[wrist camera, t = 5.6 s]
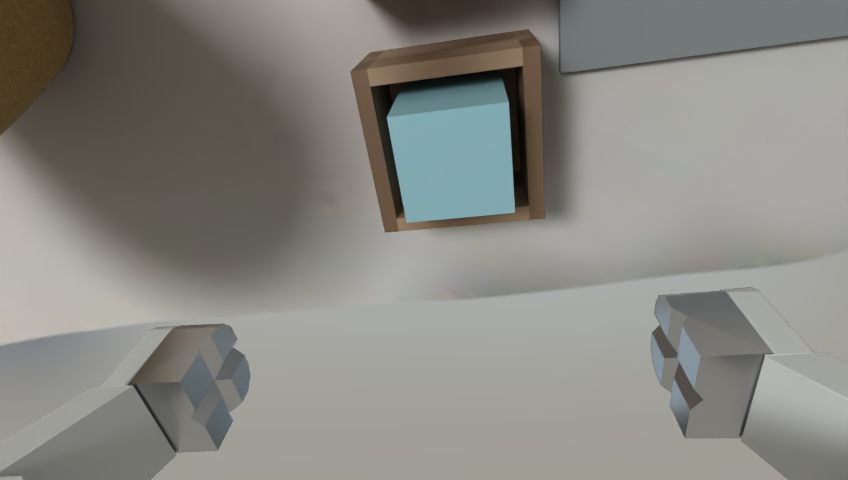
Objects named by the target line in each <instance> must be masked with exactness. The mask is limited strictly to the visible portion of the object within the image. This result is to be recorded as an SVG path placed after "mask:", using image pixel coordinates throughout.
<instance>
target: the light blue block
mask: <svg viewBox="0 0 848 480" xmlns="http://www.w3.org/2000/svg"><path fill="white" fill-rule="evenodd" d="M387 122H388V127H389V132H390V138H391V143H392V148H393V154H394V159H395V164H396V170H397V175H398V180H399V186H400V191H401V196H402V202H403V207H404V212H405V218H406V223H410V222H420V221H431V220H442V219H453V218H463V217H474V216H485V215H496V214H506V213H515V201H514V184H513V167H512V150H511V132H510V115H509V101H508V98H507V94H506V90H505V87H504V83H503V80H502V76H501V72H500V69H497V70H489V71H482V72H475V73H467V74H460V75H452V76H445V77H438V78H430V79H423V80H415V81H408V82H404V84H403V86H402V88H401V90H400V92H399V94H398V96H397V98H396V100H395V102H394V104H393V106H392V108H391V110H390V112H389V114H388V116H387Z"/></svg>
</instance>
